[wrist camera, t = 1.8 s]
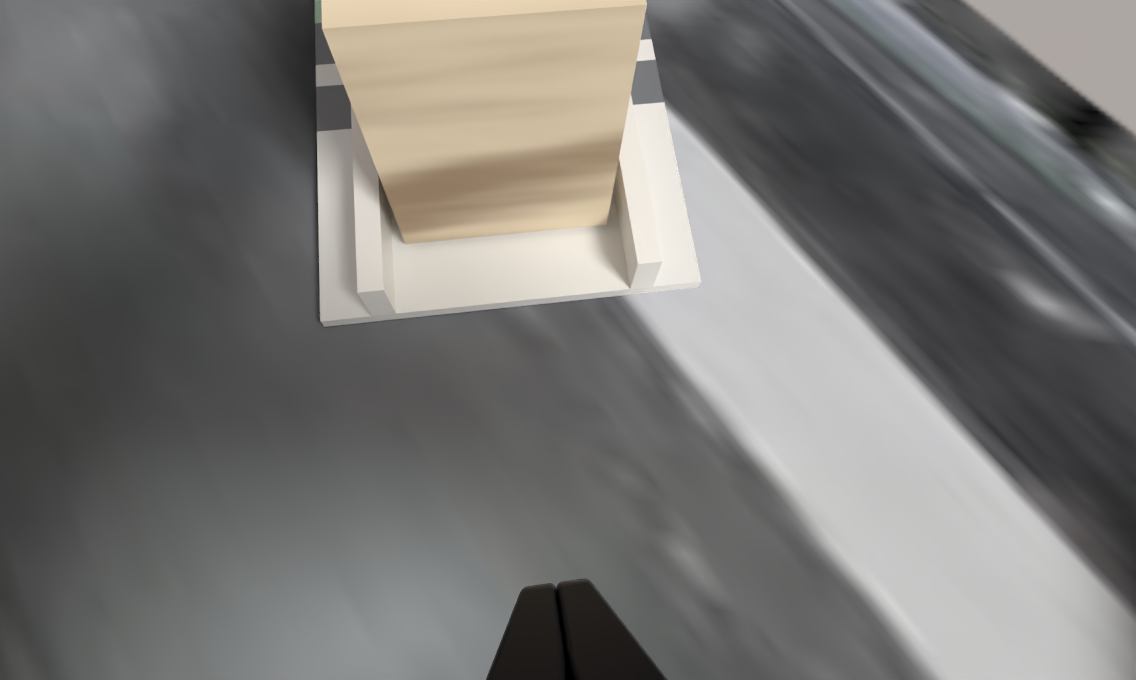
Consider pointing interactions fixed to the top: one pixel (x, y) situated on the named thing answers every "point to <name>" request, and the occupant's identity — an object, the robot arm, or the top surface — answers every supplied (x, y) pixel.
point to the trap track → (502, 262)
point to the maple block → (489, 107)
